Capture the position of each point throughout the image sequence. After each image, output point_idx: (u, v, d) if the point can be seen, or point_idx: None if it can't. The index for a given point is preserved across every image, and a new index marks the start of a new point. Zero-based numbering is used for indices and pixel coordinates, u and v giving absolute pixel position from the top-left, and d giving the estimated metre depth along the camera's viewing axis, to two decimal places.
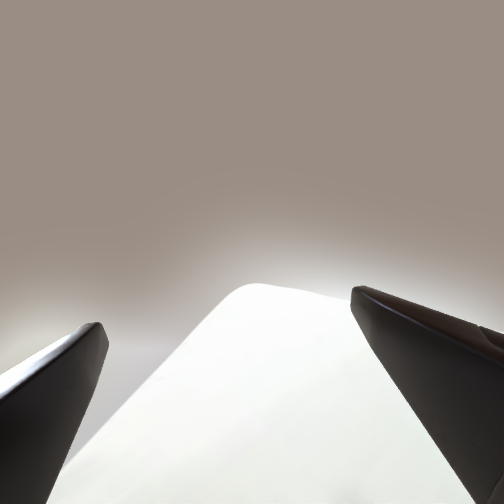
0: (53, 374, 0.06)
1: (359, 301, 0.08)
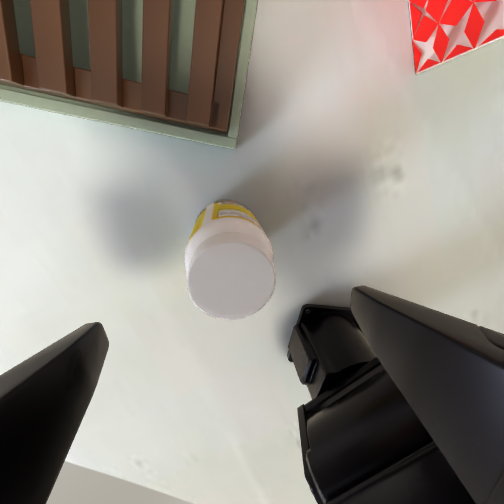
0: (53, 374, 0.06)
1: (359, 301, 0.08)
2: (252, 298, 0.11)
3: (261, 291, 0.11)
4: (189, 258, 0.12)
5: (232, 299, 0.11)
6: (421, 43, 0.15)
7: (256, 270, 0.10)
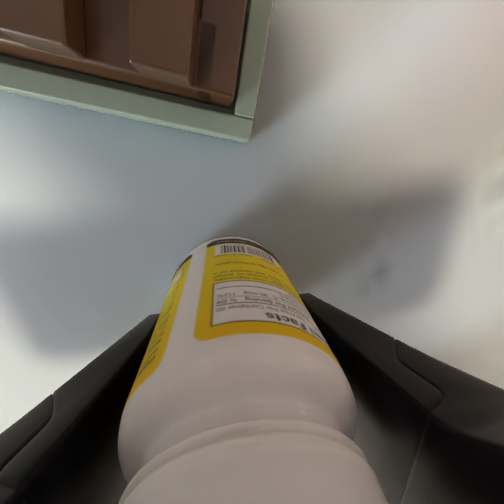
0: (138, 361, 0.06)
1: None
2: None
3: None
4: (126, 461, 0.04)
5: None
6: None
7: None
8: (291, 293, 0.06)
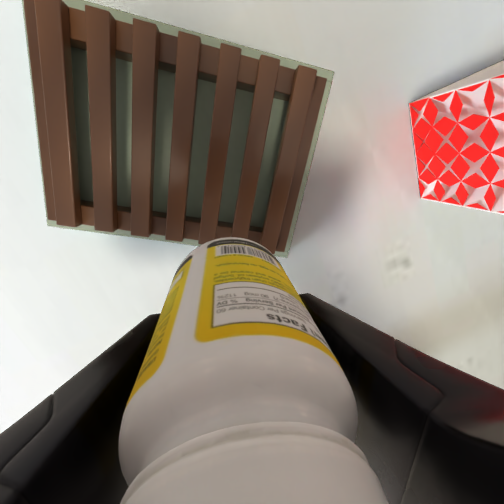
0: (138, 361, 0.06)
1: None
2: None
3: None
4: (126, 463, 0.04)
5: None
6: None
7: None
8: (292, 294, 0.06)
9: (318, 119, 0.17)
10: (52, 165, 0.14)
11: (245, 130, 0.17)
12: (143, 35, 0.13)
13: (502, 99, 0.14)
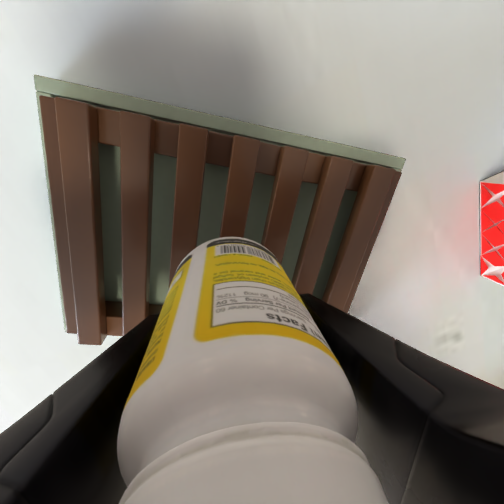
0: (137, 361, 0.06)
1: None
2: None
3: None
4: (125, 463, 0.04)
5: None
6: None
7: None
8: (291, 293, 0.06)
9: None
10: (75, 285, 0.12)
11: (296, 220, 0.14)
12: (191, 142, 0.10)
13: None
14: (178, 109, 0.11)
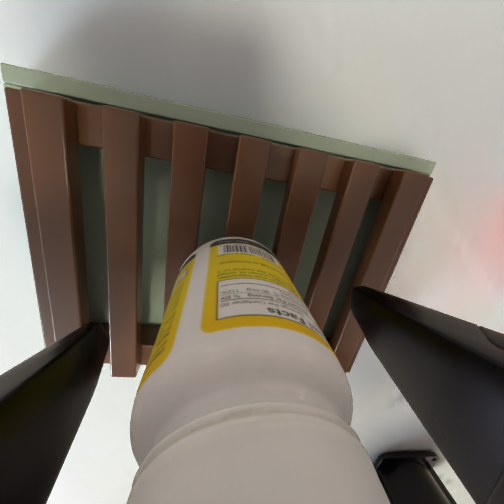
0: (53, 374, 0.06)
1: (359, 301, 0.08)
2: None
3: None
4: (138, 444, 0.04)
5: None
6: None
7: None
8: (291, 290, 0.07)
9: None
10: (53, 310, 0.10)
11: (308, 232, 0.13)
12: (188, 143, 0.08)
13: None
14: (174, 105, 0.09)
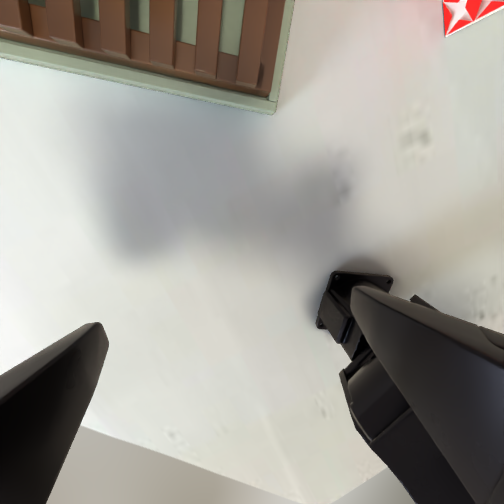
0: (53, 374, 0.06)
1: (359, 301, 0.08)
2: None
3: None
4: None
5: None
6: (452, 5, 0.15)
7: None
8: None
9: None
10: None
11: None
12: None
13: None
14: None
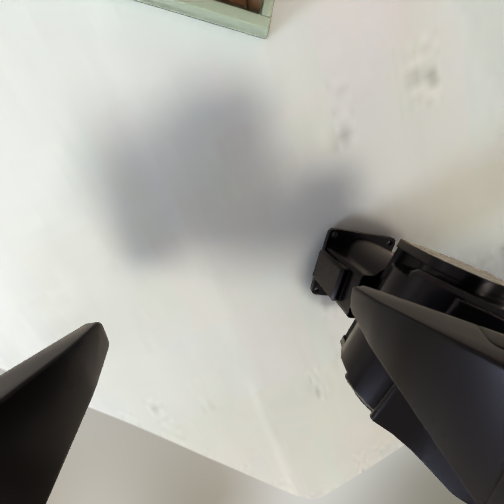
0: (53, 374, 0.06)
1: (359, 301, 0.08)
2: None
3: None
4: None
5: None
6: None
7: None
8: None
9: None
10: None
11: None
12: None
13: None
14: None
